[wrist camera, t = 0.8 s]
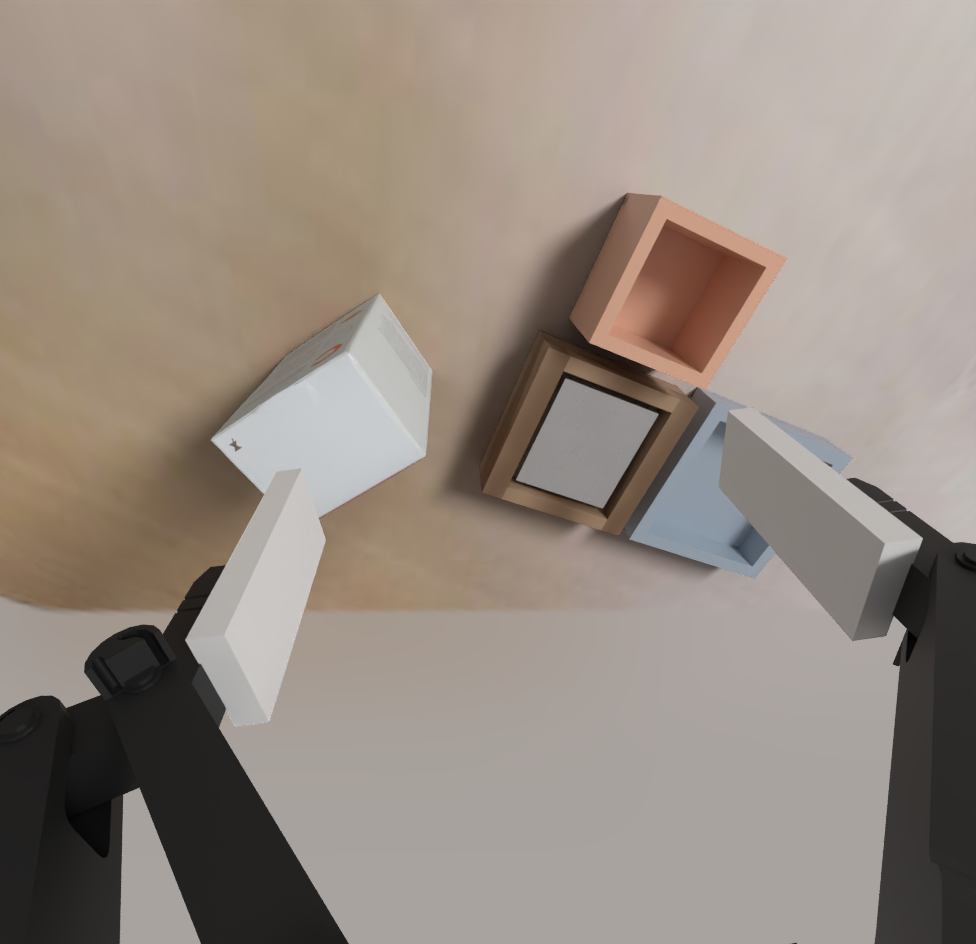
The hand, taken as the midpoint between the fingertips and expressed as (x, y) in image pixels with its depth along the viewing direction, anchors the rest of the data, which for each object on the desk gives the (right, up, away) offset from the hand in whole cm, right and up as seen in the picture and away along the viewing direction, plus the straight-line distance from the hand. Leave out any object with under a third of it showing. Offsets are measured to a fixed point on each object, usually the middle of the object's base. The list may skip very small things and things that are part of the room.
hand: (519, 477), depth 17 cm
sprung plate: (+6, +2, +21) cm, 22 cm away
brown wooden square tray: (+6, +3, +23) cm, 24 cm away
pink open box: (+10, +13, +18) cm, 24 cm away
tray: (+18, 0, +26) cm, 31 cm away
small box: (-10, +8, +20) cm, 23 cm away
